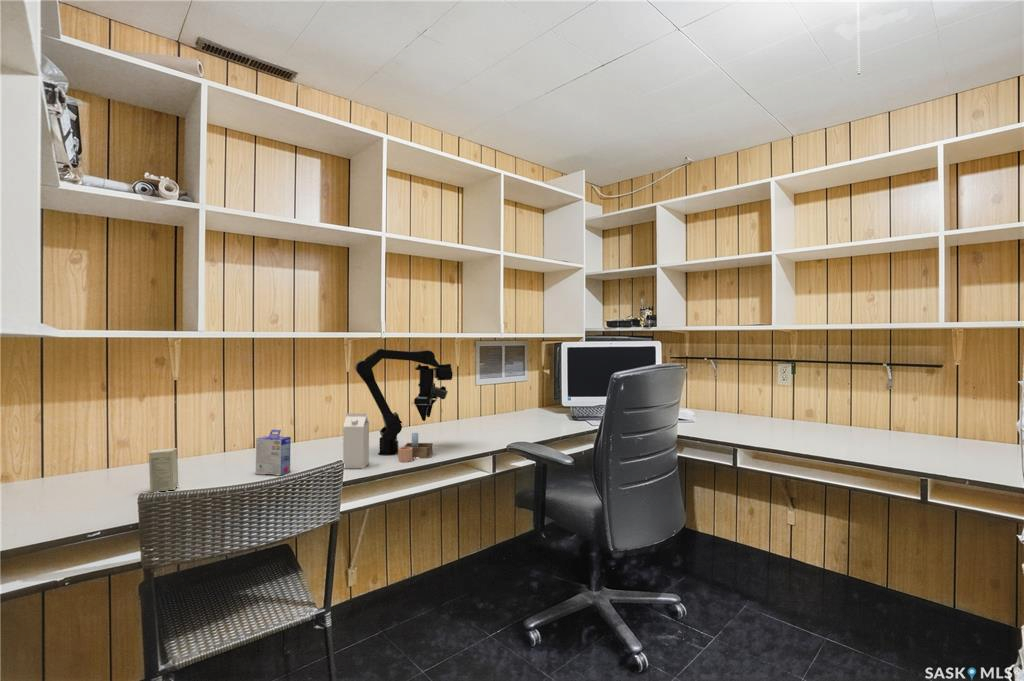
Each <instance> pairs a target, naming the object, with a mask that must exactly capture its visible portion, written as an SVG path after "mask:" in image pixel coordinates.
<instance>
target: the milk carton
mask: <svg viewBox="0 0 1024 681" xmlns="http://www.w3.org/2000/svg"><path fill="white" fill-rule="evenodd" d="M345 415H346V416H345V420H344V423H343V430H342V432H343V435H342V436H343V437H342V440H343V442H342V443H343V444H342V446H343V447H342V448H343V449H342V450H343V451H342V453H343V454H342V455H343V456H342V457H343V458H342V460H343V461H344V464H345V468H344V469H356V468H362V469H364V468H366V467H367V466H368V465H369V464H368V463H370V423H369V420H368V416H367V413H366V412H365V413H364V412H363V413H360V412H359V413H358V412H357V413H355V412H353V413H351V412H350V413H346V414H345ZM343 461H342V462H343Z"/></svg>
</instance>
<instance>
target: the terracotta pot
mask: <svg viewBox="0 0 1024 681" xmlns="http://www.w3.org/2000/svg"><path fill="white" fill-rule="evenodd" d="M397 459H398V460H399V461H402V462H401V463H407V462H406V461H410V462H412V461H413V459H414V458H413V448H412V447H404V446H400V447H398V452H397ZM411 460H412V461H411ZM399 461H398V462H399Z"/></svg>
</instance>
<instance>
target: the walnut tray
mask: <svg viewBox="0 0 1024 681" xmlns="http://www.w3.org/2000/svg"><path fill="white" fill-rule="evenodd" d="M403 447H412V442H407V443H406V444H405V445H404V446H403ZM412 448H413V457H415V458H414V459H417V458H416V457H419V458H418V459H429V458H430V457H431V456H432V454H433V442H418V447H412ZM430 455H431V456H430ZM429 456H430V457H429ZM421 457H422V458H421Z"/></svg>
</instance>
